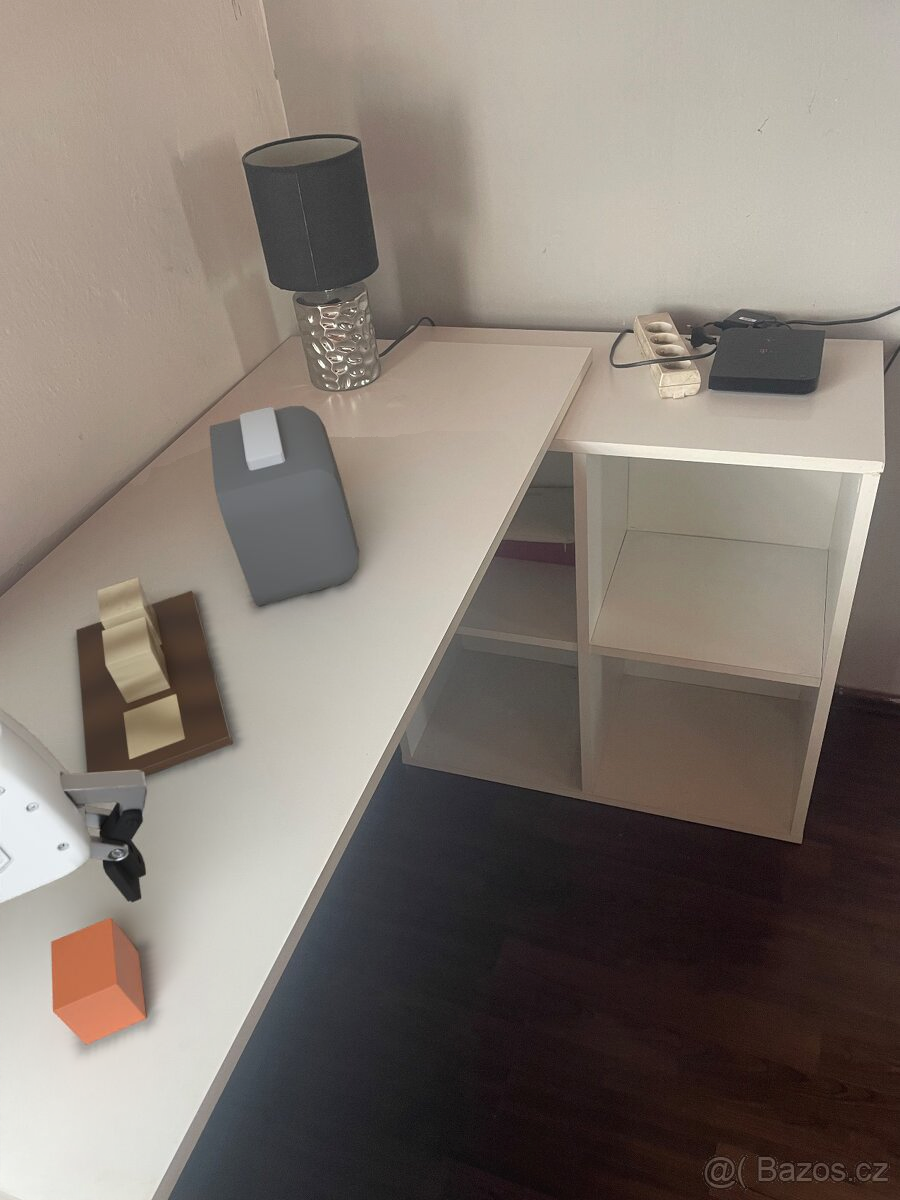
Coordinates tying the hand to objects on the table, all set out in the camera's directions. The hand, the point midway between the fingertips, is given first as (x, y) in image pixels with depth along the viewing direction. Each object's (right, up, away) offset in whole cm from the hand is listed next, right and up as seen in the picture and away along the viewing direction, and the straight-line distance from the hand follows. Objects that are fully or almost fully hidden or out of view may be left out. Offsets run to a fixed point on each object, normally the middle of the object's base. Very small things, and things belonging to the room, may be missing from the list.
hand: (55, 914), depth 52 cm
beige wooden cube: (-7, +15, +33) cm, 37 cm away
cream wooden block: (-5, +12, +28) cm, 31 cm away
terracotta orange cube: (+1, -8, +6) cm, 10 cm away
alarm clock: (+8, +24, +41) cm, 48 cm away
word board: (-4, +11, +29) cm, 31 cm away
